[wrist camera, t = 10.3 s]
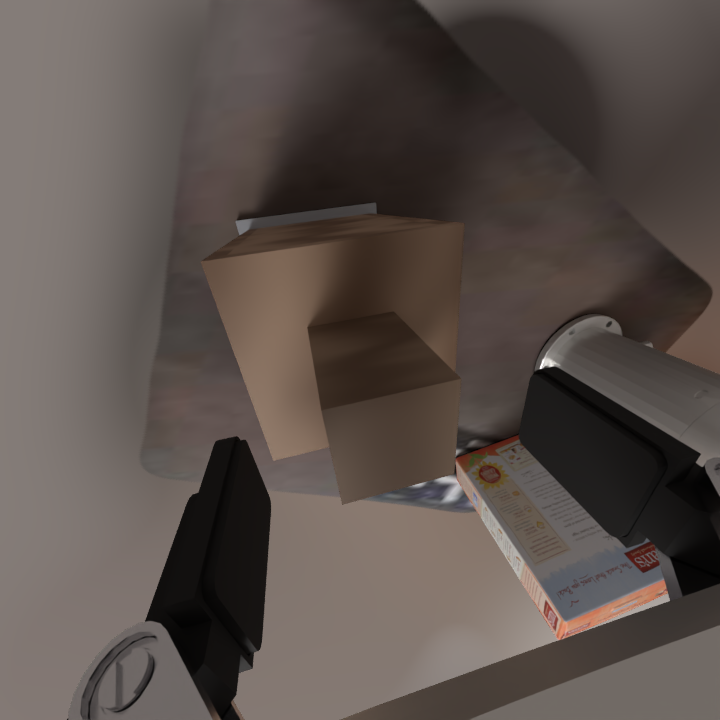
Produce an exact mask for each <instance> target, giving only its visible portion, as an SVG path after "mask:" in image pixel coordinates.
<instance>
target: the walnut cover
mask: <svg viewBox="0 0 720 720" xmlns="http://www.w3.org/2000/svg"><path fill="white" fill-rule="evenodd" d="M464 226H465V223H459V222H449V221H440V220H430V219H421V218H411V217H402V216H392V215H383V214H373V213H369V214H361V215H354V216H346V217H339V218H331V219H324V220H316V221H309V222H302V223H294V224H287V225H279V226H272V227H264V228H257V229H249V230H247V231H246V232H244V233H243V234H241V235H240V236H238V237H237V238H235V239H234V240H232V241H231V242H229V243H228V244H226V245H225V246H223V247H222V248H220V249H219V250H217V251H216V252H214V253H213V254H211V255H210V256H208V257H207V258H205V259H204V260H202V261H201V264H202V267H203V269H204V272H205V275H206V277H207V280H208V283H209V286H210V288H211V291H212V294H213V297H214V299H215V302H216V305H217V308H218V310H219V313H220V316H221V318H222V321H223V324H224V327H225V329H226V332H227V335H228V338H229V340H230V343H231V346H232V348H233V351H234V354H235V357H236V359H237V362H238V365H239V368H240V370H241V373H242V376H243V379H244V381H245V384H246V387H247V389H248V392H249V395H250V398H251V400H252V403H253V406H254V409H255V411H256V414H257V417H258V419H259V422H260V425H261V428H262V430H263V433H264V436H265V439H266V441H267V444H268V447H269V450H270V452H271V455H272V458H273V460H278V459H282V458H287V457H291V456H295V455H299V454H303V453H307V452H311V451H315V450H319V449H323V448H327V447H330V452H331V456H332V461H333V465H334V470H335V474H336V479H337V483H338V488H339V492H340V497H341V501H342V505H343V504H346V503H350V502H353V501H357V500H361V499H364V498H368V497H372V496H375V495H379V494H383V493H386V492H390V491H394V490H397V489H401V488H404V487H408V486H412V485H415V484H419V483H423V482H426V481H430V480H434V479H437V478H441V477H444V476H448V475H452V474H454V468H455V455H456V442H457V429H458V416H459V403H460V390H461V378H460V377H459V376H458V375H457V374H456V373H455V367H456V351H457V335H458V320H459V304H460V288H461V273H462V257H463V241H464Z"/></svg>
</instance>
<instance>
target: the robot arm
mask: <svg viewBox="0 0 720 720" xmlns="http://www.w3.org/2000/svg"><path fill="white" fill-rule="evenodd" d="M519 440H520V442H521V444H522V445H523V446H524V447H525V448H526V449H527V450H528V451H529V452H530V454H531V455H532V456H533V457H534V458H535V459H536V460H537V461H538V462H539V463H540V464H541V465H542V466H543V467H544V468H545V469H546V470H547V471H548V472H549V473H550V474H551V475H552V476H553V477H554V478H555V479H556V480H557V481H558V483H559V484H560V485H561V486H562V487H563V488H564V489H565V490H566V491H567V492H568V493H569V494H570V495H571V496H572V497H573V498H574V499H575V500H576V501H577V502H578V503H579V504H580V505H581V506H582V507H583V508H584V509H585V510H586V512H587V513H588V514H589V515H590V516H591V517H592V518H593V519H594V520H595V521H596V522H597V523H598V524H599V525H600V526H601V527H602V528H603V529H604V530H605V531H606V532H607V533H608V534H609V535H611V536H612V537H615V538H617V539H618V540H619V541H620V542H621V543H622V544H623V545H624V546H625V547H626V548H629V547H633V546H636V545H639V544H642V543H644V541H645V540H646V538H647V539H648V540H649V541H650V542H651V543H652V544H654V547H655V550H656V554H657V557H658V561H659V564H660V567H661V571H662V574H663V578H664V581H665V584H666V588H667V591H668V594H669V598H670V601H669V602H666V603H663V604H661V605H658V606H655V607H652V608H649V609H646V610H644V611H640V612H638V613H635V614H632V615H629V616H626V617H623V618H620V619H618V620H615V621H612V622H609V623H606V624H603V625H601V626H598V627H595V628H592V629H589V630H587V631H584V632H581V633H578V634H575V635H572V636H570V637H567V638H564V639H561V640H558V641H556V642H553V643H550V644H548V645H544V646H542V647H539V648H536V649H534V650H531V651H528V652H525V653H522V654H519V655H516V656H514V657H511V658H508V659H505V660H502V661H499V662H497V663H494V664H491V665H488V666H486V667H483V668H480V669H477V670H475V671H472V672H469V673H466V674H463V675H461V676H458V677H455V678H453V679H450V680H447V681H444V682H441V683H438V684H436V685H433V686H430V687H428V688H425V689H422V690H419V691H416V692H414V693H411V694H408V695H406V696H403V697H400V698H397V699H394V700H392V701H389V702H386V703H383V704H380V705H378V706H375V707H372V708H370V709H367V710H364V711H362V712H359V713H357V714H354V715H351V716H349V717H346V718H344V719H341V720H720V374H718V373H715V372H712V371H710V370H707V369H705V368H703V367H700V366H697V365H695V364H692V363H690V362H687V361H685V360H682V359H680V358H677V357H674V356H672V355H669V354H667V353H664V352H662V351H659V350H657V349H654V348H653V345H652V343H651V342H649V341H643V342H636V341H634V340H631V339H629V338H626V337H623V336H622V331H621V327H620V325H619V324H618V322H616V321H615V320H614V319H612V318H610V317H608V316H605V315H601V314H589V315H585V316H582V317H579V318H577V319H575V320H573V321H571V322H569V323H568V324H566V325H565V326H563V327H562V328H561V329H559V330H558V331H557V332H556V333H555V334H554V335H553V336H552V337H551V338H550V339H549V341H548V342H547V343H546V344H545V346H544V348H543V349H542V351H541V352H540V355H539V357H538V359H537V362H536V366H535V372H534V374H533V376H531V378H530V382H529V386H528V391H527V396H526V401H525V406H524V410H523V415H522V420H521V425H520V430H519ZM270 517H271V501H270V497H269V494H268V492H267V490H266V487H265V485H264V482H263V480H262V477H261V475H260V473H259V470H258V468H257V465H256V463H255V460H254V458H253V455H252V453H251V451H250V448H249V446H248V443H247V441H246V440H241V441H240V439H239V438H238V437H237V436H236V437H231V438H227V439H222V440H218V441H216V442H215V444H214V447H213V450H212V453H211V456H210V459H209V462H208V465H207V468H206V471H205V474H204V477H203V480H202V483H201V487H200V490H199V493H196V494H193V495H192V496H191V497H190V498H189V500H188V502H187V505H186V507H185V510H184V513H183V516H182V519H181V521H180V524H179V527H178V530H177V533H176V535H175V538H174V541H173V544H172V547H171V550H170V552H169V556H168V558H167V561H166V564H165V567H164V569H163V572H162V575H161V578H160V581H159V584H158V586H157V589H156V592H155V595H154V598H153V600H152V604H151V606H150V609H149V612H148V615H147V618H146V620H145V622H142V623H138V624H136V625H134V626H132V627H130V628H128V629H126V630H125V631H123V632H122V633H121V634H119V635H118V636H117V637H115V638H114V639H113V640H111V641H110V642H109V643H108V644H107V645H106V646H105V648H104V649H103V650H102V651H101V652H100V653H99V654H98V655H97V656H96V657H95V659H94V660H93V662H92V663H91V664H90V666H89V667H88V669H87V670H86V672H85V673H84V675H83V677H82V678H81V680H80V683H79V685H78V686H77V689H76V691H75V693H74V695H73V699H72V702H71V706H70V709H69V714H68V716H69V718H68V719H67V720H245V719H244V718H243V716H242V714H241V712H240V711H239V709H238V707H237V706H236V704H235V702H234V701H233V699H234V697H235V696H236V692H237V683H238V675H239V673H240V672H243V671H246V670H250V669H252V668H253V656H254V652H256V651H259V650H260V648H261V643H262V632H263V618H264V604H265V589H266V575H267V561H268V545H269V532H270Z"/></svg>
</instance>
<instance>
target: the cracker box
mask: <svg viewBox="0 0 720 720" xmlns="http://www.w3.org/2000/svg"><path fill="white" fill-rule="evenodd" d="M456 471H457V480H458V482H459V484H460V485H461V487H462V488H463V490H464V492H465V493H466V495H467V496H468V498H469V500H470V501H471V503H472V504H473V506H474V508H475V509H476V511H477V513H478V514H479V515H480V517H481V519H482V520H483V522H484V524H485V525H486V527H487V528H488V530H489V531H490V533H491V535H492V536H493V538H494V539H495V541H496V543H497V544H498V545H499V547H500V549H501V550H502V552H503V554H504V555H505V557H506V558H507V560H508V561H509V563H510V565H511V567H512V568H513V570H514V571H515V573H516V575H517V576H518V578H519V579H520V581H521V583H522V584H523V586H524V587H525V589H526V590H527V592H528V593H529V595H530V597H531V598H532V600H533V601H534V603H535V604H536V606H537V608H538V609H539V611H540V612H541V614H542V615H543V617H544V618H545V620H546V622H547V623H548V625H549V627H550V628H551V630H552V631H553V633H554V635H555V636H556V638H557V639H558V640H561V639H564V638H567V637H569V636H571V635H573V634H576V633H578V632H580V631H583V630H585V629H587V628H590V627H592V626H595V625H597V624H599V623H602V622H604V621H607V620H609V619H611V618H613V617H616V616H618V615H620V614H623V613H625V612H627V611H630V610H632V609H634V608H636V607H639V606H641V605H643V604H645V603H647V602H650V601H652V600H654V599H656V598H658V597H660V596H662V595H664V594H667V593H668V591H667V588H666V584H665V581H664V578H663V574H662V571H661V567H660V564H659V561H658V557H657V554H656V550H655V547H654V544H652V543H651V542H650V541H649V540H648V539H647V538H646V540H645V541H644V543H642V544H639V545H636V546H633V547H629V548H626V547H625V546H624V545H623V544H622V543H621V542H620V541H619V540H618V539H617V538H615V537H612V536H611V535H609V534H608V533H607V532H606V531H605V530H604V529H603V528H602V527H601V526H600V525H599V524H598V523H597V522H596V521H595V520H594V519H593V518H592V517H591V516H590V515H589V514H588V513H587V512H586V510H585V509H584V508H583V507H582V506H581V505H580V504H579V503H578V502H577V501H576V500H575V499H574V498H573V497H572V496H571V495H570V494H569V493H568V492H567V491H566V490H565V489H564V488H563V487H562V486H561V485H560V484H559V483H558V481H557V480H556V479H555V478H554V477H553V476H552V475H551V474H550V473H549V472H548V471H547V470H546V469H545V468H544V467H543V466H542V465H541V464H540V463H539V462H538V461H537V460H536V459H535V458H534V457H533V456H532V455H531V454H530V452H529V451H528V450H527V449H526V448H525V447H524V446H523V445H522V444H521V442H520V440H519V435H517V436H514V437H511V438H509V439H506V440H503V441H501V442H498V443H495V444H492V445H490V446H487V447H484V448H482V449H479V450H476V451H474V452H471V453H468V454H465V455H463V456H460V457H457V458H456Z"/></svg>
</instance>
